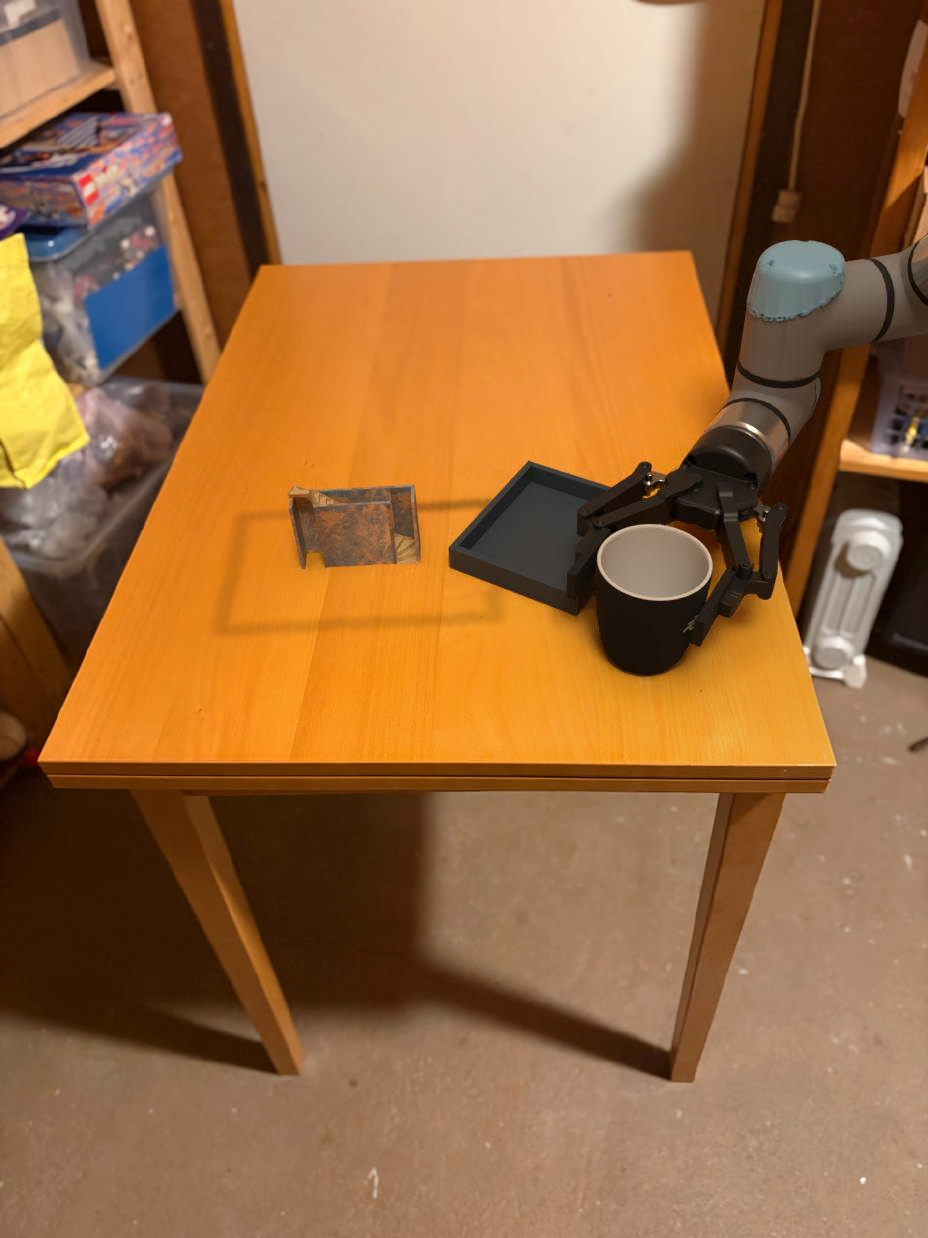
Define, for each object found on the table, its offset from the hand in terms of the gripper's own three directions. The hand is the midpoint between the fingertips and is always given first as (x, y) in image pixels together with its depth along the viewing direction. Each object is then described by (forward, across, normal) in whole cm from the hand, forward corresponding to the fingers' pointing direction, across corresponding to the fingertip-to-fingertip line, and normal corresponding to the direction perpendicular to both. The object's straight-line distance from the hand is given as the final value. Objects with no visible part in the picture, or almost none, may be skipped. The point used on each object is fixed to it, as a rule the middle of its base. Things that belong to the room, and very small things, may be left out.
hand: (632, 609), depth 73 cm
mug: (-4, 0, -7) cm, 8 cm away
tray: (-11, +13, -7) cm, 19 cm away
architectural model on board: (-1, +28, -8) cm, 29 cm away
